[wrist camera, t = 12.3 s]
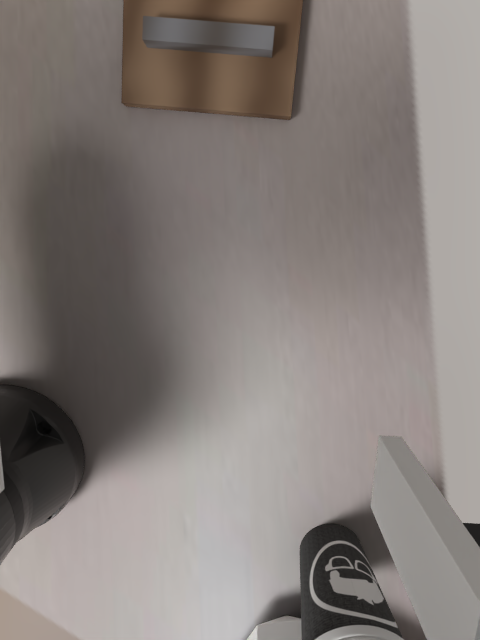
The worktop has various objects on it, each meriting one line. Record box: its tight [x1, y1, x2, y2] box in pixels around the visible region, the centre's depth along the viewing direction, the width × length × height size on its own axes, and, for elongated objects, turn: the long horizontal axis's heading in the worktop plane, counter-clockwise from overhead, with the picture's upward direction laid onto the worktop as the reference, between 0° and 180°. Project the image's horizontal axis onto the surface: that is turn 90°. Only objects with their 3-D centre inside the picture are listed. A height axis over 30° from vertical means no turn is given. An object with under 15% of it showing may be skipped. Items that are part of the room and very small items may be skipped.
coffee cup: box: [300, 524, 404, 640], centre depth 38 cm, size 10×10×15 cm
